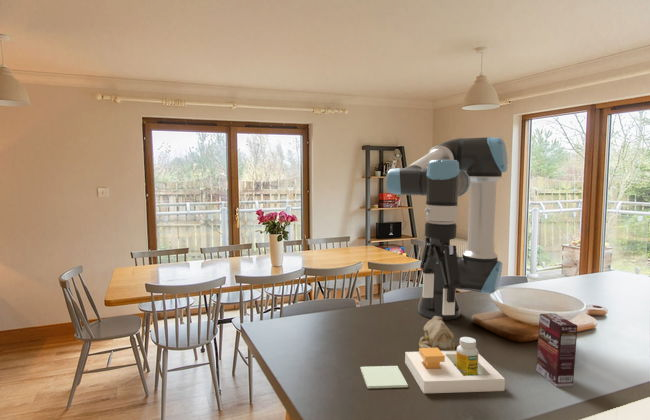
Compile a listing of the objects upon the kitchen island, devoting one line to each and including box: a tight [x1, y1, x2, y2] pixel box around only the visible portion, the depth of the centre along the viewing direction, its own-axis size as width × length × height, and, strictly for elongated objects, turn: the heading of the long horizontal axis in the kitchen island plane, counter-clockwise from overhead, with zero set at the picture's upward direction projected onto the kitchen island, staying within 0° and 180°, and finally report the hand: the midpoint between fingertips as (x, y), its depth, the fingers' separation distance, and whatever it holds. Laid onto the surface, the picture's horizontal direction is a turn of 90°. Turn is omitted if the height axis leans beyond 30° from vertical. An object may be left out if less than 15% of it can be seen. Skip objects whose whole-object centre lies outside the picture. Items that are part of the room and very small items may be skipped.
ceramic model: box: [418, 316, 456, 351], centre depth 122 cm, size 14×11×10 cm
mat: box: [359, 365, 409, 389], centre depth 104 cm, size 10×10×1 cm
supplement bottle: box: [455, 336, 479, 376], centre depth 106 cm, size 5×5×10 cm
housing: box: [404, 350, 506, 394], centre depth 106 cm, size 16×20×3 cm
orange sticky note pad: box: [418, 347, 445, 369], centre depth 105 cm, size 5×5×4 cm
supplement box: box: [535, 312, 578, 388], centre depth 104 cm, size 9×5×16 cm, turn 5°
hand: (437, 305), depth 103 cm, fingers open, 13 cm apart
